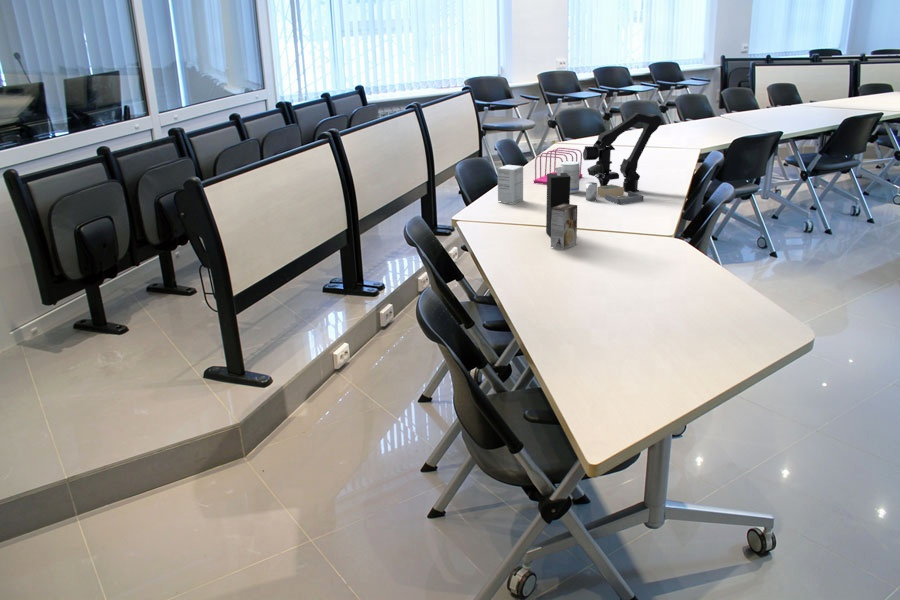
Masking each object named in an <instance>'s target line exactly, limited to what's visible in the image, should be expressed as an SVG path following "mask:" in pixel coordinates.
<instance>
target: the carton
mask: <svg viewBox="0 0 900 600" xmlns="http://www.w3.org/2000/svg"><path fill="white" fill-rule="evenodd" d="M606 194H608V195H611V196H613V197H616V198H619V197H618V196H620V197H624V196H623V195H625V191H624V187H623V186H620V185H616V184H612V183H611V184H607V185H605V186H600V185H599V186H597V196H598V195H600V196H599V197H602V196H604V197H603V198H605V195H606Z"/></svg>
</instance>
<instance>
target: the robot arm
mask: <svg viewBox="0 0 900 600" xmlns="http://www.w3.org/2000/svg"><path fill="white" fill-rule="evenodd" d="M638 123H643V125H642V126H643V127H642V132H641V133H640V135H639V137H638V139H637V141H636V143H635V145H634V147H633V148H632V151H631V153H630V154H629V157H627V159H626V158H623V160H622V162H621V164H620V165H619V166H620V168H619V171H620V174H621V175H622V176H623V178H624V179H623V182H622V187H624V192H627V193H628V191H631V192H634V193H637V192H640V189H638V187H639V186H638V185H639V180H640V177H641V176H640V174H639V173H638V172H637V169H638V164H639V159H640V157H641V155H642V154H643V152H644V149H645V148H646V146H647V144H648V142H649V140H650V138H651V137H652V135H653V134H654V133H655V132H656V131H657V130H658V128H659V127H660V125H661V124H662V118H661V116H659V115H657V114H654V113H649V114H643V113H640V112H634V113H633V114H632V115H631V116H629V117H628V118H627V119H625V120H623V121H622V122H620V123H619V124H618V125H616V126H615V127H613V128H611V129H607V130H605V131H604V132H601V133H600V134H599V135H598V137H597V140H596V141H595V143H594V144H593V145H592V146H591V145H589V146H588V145H585V146H584V149H583V152H582V159H583V160H584V161H595V160H596V162H595V164H594V165H592V166H590V167H588V168H587V169H586V170H587V172H588V176H591V177H595V178H596V179H597V180H598V182H599V187H600V186H605V185H609V182H610V181H612V180H619V179H620V174H619V173H618V172H615V171H612V169H611V164H613V161H612V160H611V155H612V154H611V152H612V151H615V150H616V149H615V147H614V146H613V145H612V144H613V143H614V142H615V141H616V140H617V139H618V137H620V135H622V134H623V133H625V132H626V131H628V130H629V129H631V128H633V127H634V126H635V125H636V124H638Z"/></svg>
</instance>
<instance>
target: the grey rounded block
mask: <svg viewBox="0 0 900 600" xmlns="http://www.w3.org/2000/svg"><path fill="white" fill-rule="evenodd" d="M585 186H586V189H585V192H586V193H585V200H586V201H587V202H596V201H597V197H598V195H597V189H598V183H597V182H594V181H592V182H586V185H585ZM595 200H596V201H595Z"/></svg>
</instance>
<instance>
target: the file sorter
mask: <svg viewBox="0 0 900 600" xmlns="http://www.w3.org/2000/svg"><path fill="white" fill-rule="evenodd" d="M575 151H576V152H575ZM577 151H578V152H579V153H580V162H579V165H580V175H579V179H581V178H583V174H582V164H583V163H582V159H583V152H582V151H581V150H580V149H579V148H578V149H577V148H570V147H569V148H568V147H556V149H552V150H549V151H547V152H542V153H541V154H540V155H537V156H536V157H535V161H534V176H535V177H534V180H533V182H534V183H533V184H536V183H543V184H542V185H547V168H548V167H547V161H548V158H549V174H550V173H557V172H556V170H555V168H556V163H557V161H556V160H557V159H560V160H561V163H562V162H564V161H563V158H562V157H560V156H564V157H565V159H566V161H568V157H567V155H570V157H571V161H574V157H573V154H572V153H574V155H575V156H576V157H575V162H578V154H577ZM565 154H566V155H565ZM538 158H539V177H538V178H537V159H538ZM542 158H545V163H544V164H545V167H544V168H545V169H544V175H543V176H542ZM552 158H553V159H554V164H553V165H554V166H553V171H552ZM566 161H565V162H566ZM580 177H581V178H580Z"/></svg>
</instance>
